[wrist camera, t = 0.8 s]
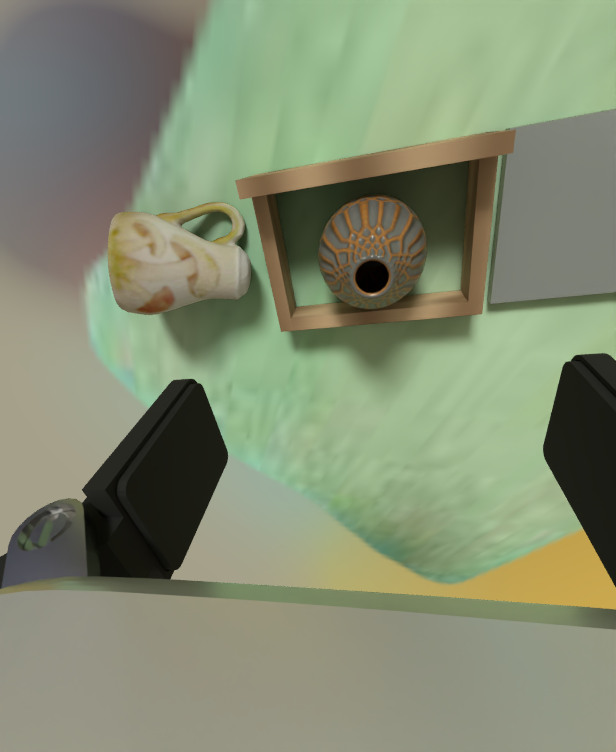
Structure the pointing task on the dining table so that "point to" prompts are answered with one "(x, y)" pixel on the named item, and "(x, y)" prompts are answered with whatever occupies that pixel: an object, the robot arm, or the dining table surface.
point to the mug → (174, 261)
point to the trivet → (557, 211)
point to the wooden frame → (468, 148)
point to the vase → (372, 251)
